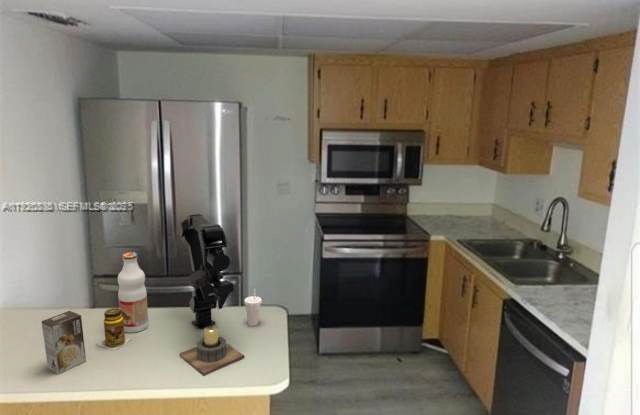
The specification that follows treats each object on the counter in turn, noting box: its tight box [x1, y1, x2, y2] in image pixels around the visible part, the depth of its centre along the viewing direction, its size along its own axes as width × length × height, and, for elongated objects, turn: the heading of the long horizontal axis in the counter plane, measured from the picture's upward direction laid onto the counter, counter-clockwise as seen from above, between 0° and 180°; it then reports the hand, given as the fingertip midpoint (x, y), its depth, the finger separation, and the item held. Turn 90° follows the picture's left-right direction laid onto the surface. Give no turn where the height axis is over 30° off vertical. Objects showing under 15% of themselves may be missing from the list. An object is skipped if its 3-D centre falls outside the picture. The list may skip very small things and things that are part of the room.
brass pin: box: [203, 325, 219, 348], centre depth 154 cm, size 4×4×9 cm
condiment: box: [96, 307, 131, 351], centre depth 162 cm, size 7×8×12 cm
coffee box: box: [41, 310, 87, 375], centre depth 147 cm, size 9×6×16 cm
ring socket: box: [179, 336, 245, 376], centre depth 155 cm, size 15×15×5 cm
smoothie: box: [244, 288, 263, 327], centre depth 177 cm, size 6×6×14 cm
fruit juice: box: [117, 251, 149, 334], centre depth 171 cm, size 9×9×28 cm
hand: (213, 304), depth 164 cm, fingers open, 9 cm apart
